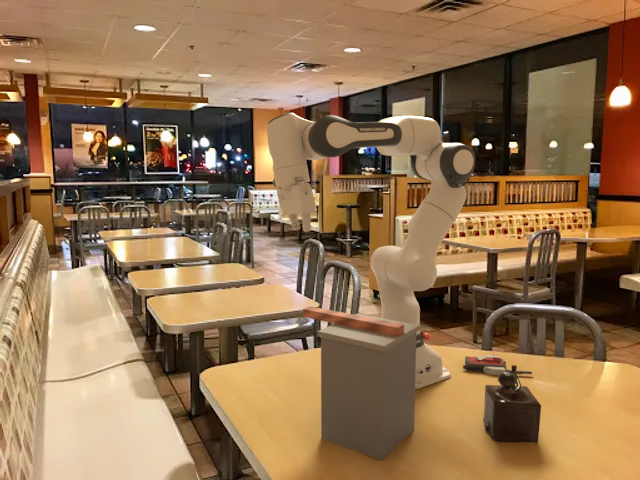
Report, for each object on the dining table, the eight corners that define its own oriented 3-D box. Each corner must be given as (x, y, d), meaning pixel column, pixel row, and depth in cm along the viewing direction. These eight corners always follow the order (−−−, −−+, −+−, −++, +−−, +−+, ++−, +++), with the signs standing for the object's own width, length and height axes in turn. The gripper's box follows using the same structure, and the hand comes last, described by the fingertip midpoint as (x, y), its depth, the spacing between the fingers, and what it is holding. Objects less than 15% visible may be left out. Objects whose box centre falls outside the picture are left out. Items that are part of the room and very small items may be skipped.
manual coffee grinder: (479, 419, 131) (482, 350, 128) (525, 420, 130) (529, 351, 127) (496, 453, 115) (500, 376, 113) (548, 455, 115) (552, 377, 112)
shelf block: (318, 438, 122) (317, 331, 118) (356, 410, 135) (357, 313, 132) (382, 462, 112) (384, 346, 108) (416, 429, 126) (419, 325, 122)
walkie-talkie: (463, 374, 159) (532, 379, 156) (464, 360, 158) (533, 364, 155) (460, 363, 168) (526, 367, 164) (461, 350, 167) (527, 354, 164)
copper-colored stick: (303, 316, 129) (303, 309, 129) (310, 314, 132) (310, 306, 131) (397, 336, 114) (397, 327, 114) (404, 332, 117) (404, 324, 116)
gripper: (316, 173, 126) (326, 229, 127) (292, 177, 145) (302, 226, 147) (291, 178, 124) (302, 235, 125) (271, 181, 143) (280, 231, 145)
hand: (302, 230), depth 136 cm, fingers open, 8 cm apart
